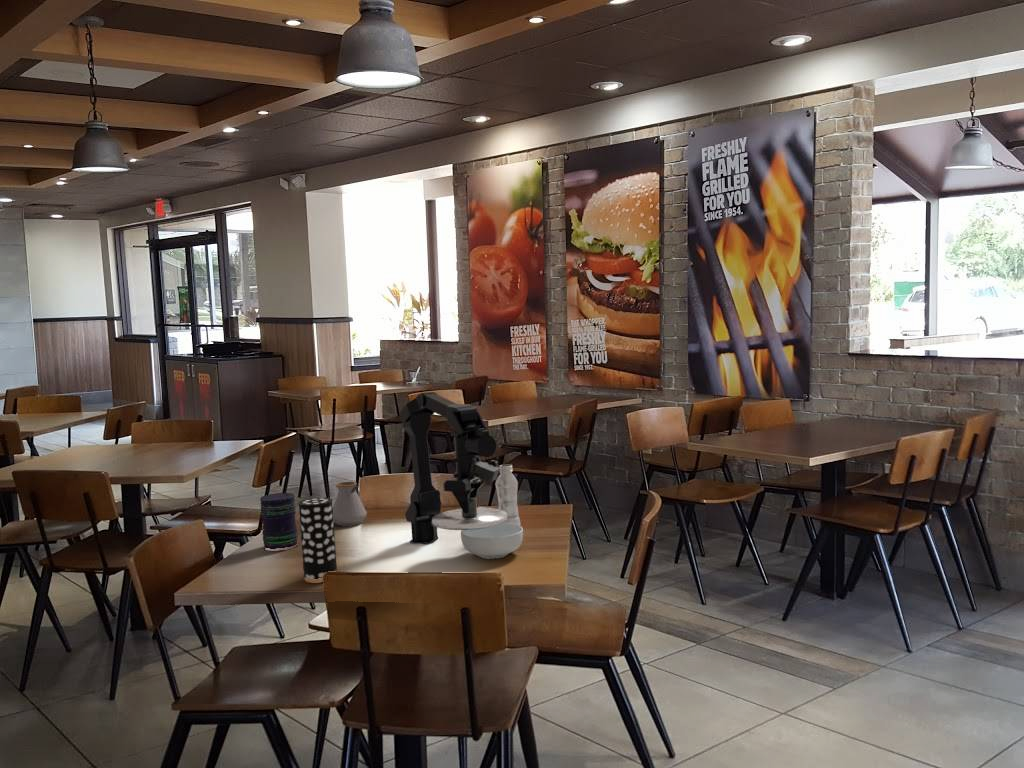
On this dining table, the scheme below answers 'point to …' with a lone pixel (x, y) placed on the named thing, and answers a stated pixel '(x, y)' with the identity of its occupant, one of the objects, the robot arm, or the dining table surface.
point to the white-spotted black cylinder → (317, 537)
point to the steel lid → (469, 518)
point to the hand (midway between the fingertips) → (469, 511)
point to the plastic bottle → (508, 493)
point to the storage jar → (279, 520)
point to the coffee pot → (348, 505)
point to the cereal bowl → (493, 540)
